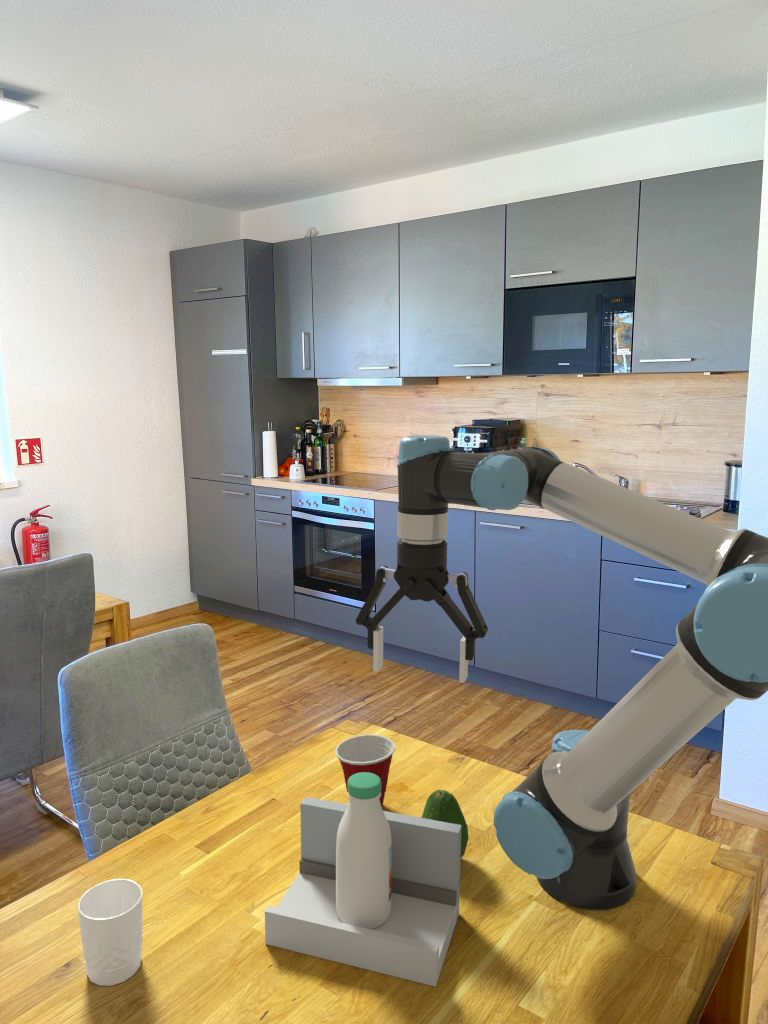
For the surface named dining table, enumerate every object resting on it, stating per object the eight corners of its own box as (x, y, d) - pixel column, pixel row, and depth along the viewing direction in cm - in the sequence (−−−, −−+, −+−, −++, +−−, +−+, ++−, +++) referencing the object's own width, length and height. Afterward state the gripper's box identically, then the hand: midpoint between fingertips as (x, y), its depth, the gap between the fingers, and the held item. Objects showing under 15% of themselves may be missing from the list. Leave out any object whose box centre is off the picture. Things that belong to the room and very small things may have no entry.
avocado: (426, 842, 126) (427, 776, 124) (472, 853, 123) (474, 785, 121) (411, 871, 118) (412, 801, 116) (460, 882, 116) (462, 811, 114)
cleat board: (459, 913, 109) (461, 825, 107) (435, 986, 96) (438, 887, 93) (306, 880, 116) (305, 796, 114) (265, 944, 103) (263, 850, 100)
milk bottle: (385, 935, 100) (386, 797, 97) (329, 927, 102) (329, 790, 98) (395, 898, 108) (397, 768, 104) (343, 890, 109) (344, 762, 106)
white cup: (124, 936, 104) (121, 870, 102) (158, 964, 99) (154, 895, 97) (70, 969, 98) (65, 900, 96) (103, 1001, 93) (98, 929, 91)
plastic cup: (338, 791, 142) (337, 731, 140) (395, 792, 141) (395, 732, 139) (332, 824, 131) (331, 760, 129) (394, 825, 131) (394, 761, 129)
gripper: (509, 540, 112) (504, 674, 116) (352, 529, 120) (352, 656, 123) (501, 550, 105) (496, 693, 109) (335, 538, 113) (335, 672, 116)
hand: (420, 674), depth 116 cm, fingers open, 13 cm apart
